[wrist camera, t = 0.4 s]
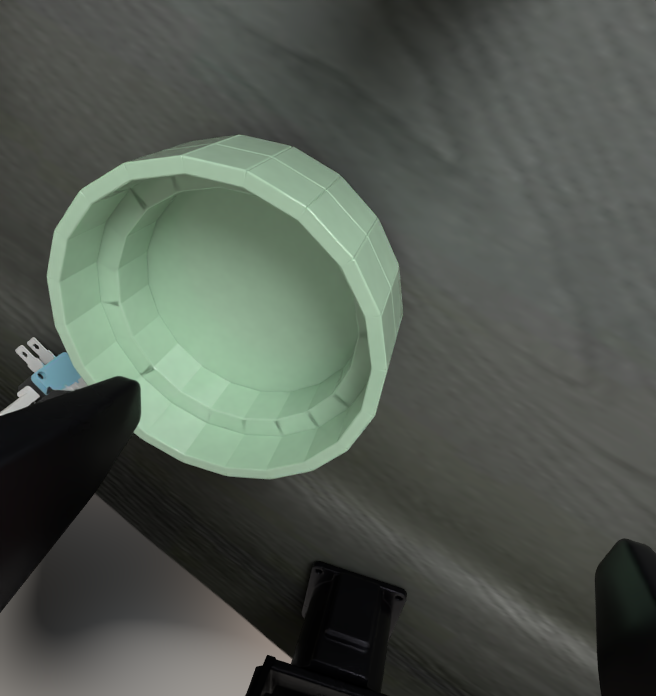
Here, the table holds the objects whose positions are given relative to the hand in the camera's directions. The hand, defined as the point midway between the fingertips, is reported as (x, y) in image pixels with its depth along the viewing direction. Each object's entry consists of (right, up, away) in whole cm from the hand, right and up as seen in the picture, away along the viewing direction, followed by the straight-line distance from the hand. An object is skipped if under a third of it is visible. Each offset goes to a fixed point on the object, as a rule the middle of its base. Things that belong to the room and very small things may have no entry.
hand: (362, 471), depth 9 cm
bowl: (-4, +5, +15) cm, 17 cm away
